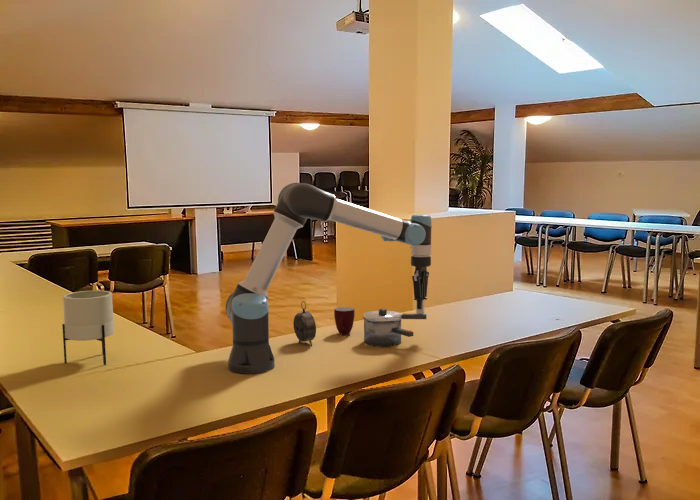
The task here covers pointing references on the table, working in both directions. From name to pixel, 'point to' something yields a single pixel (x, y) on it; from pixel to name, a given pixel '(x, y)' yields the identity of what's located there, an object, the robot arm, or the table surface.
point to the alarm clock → (304, 326)
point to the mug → (344, 319)
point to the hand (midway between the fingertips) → (420, 316)
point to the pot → (384, 333)
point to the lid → (389, 316)
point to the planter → (88, 317)
